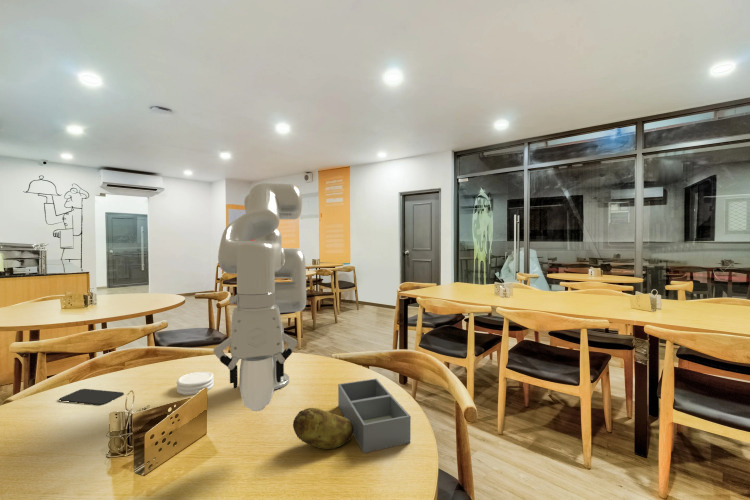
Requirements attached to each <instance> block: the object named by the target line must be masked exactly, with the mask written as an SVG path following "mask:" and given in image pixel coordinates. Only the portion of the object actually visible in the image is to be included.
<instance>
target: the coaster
mask: <svg viewBox="0 0 750 500" xmlns="http://www.w3.org/2000/svg"><path fill="white" fill-rule="evenodd" d="M214 377H215V376H214V373H212V372H210V371H195V372H190V373H187V374H184V375H181V376H180V377H179V378H178V379H177V380H176V393H178V394H180V395H183V396H192V395H197V394H196V393H198V392H199V391H200V390H202V389H203V388H206V387H207V388H208V390H207V391H209V390H211V389H212V388H213V387H214V384H215V382H214Z"/></svg>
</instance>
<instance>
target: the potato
mask: <svg viewBox="0 0 750 500" xmlns="http://www.w3.org/2000/svg"><path fill="white" fill-rule="evenodd" d="M292 423H293V424H292V428H293V430H294V433H295V435H296V437H297V438H298V439H299V440H300V441H301V442H303V443H304V444H307V445H310V446H314V447H316V448H319V449H321V450H330V449H335V448H339V447H340V446H343V445H344V444H346V443H347V442H348V441H350V440H351V439H352V438H353V436H354V434H353V431H354V429H353V424H352V423H351V421H350V420H348V419H346V418H345V417H344V416H341V415H338V414H335V413H331V412H330V411H327V410H323V409H320V408H317V407H308V408H304V409H302V410H300V411H299V412H298V413H297V414H296V415H295V417H294V420H293V422H292Z"/></svg>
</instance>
